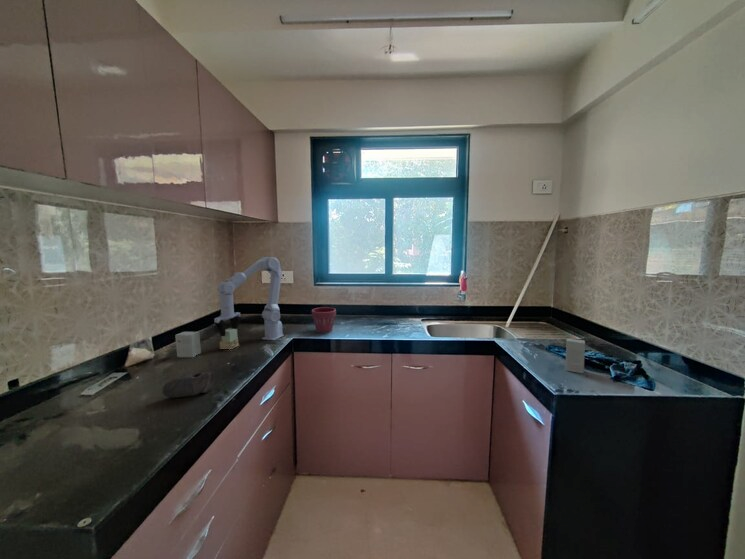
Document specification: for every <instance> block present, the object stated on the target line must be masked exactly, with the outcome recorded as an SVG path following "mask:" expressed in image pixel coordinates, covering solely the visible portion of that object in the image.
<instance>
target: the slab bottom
mask: <svg viewBox="0 0 745 559" xmlns="http://www.w3.org/2000/svg"><path fill="white" fill-rule="evenodd" d="M237 346H239V347H240V343H239V342H238V343H237V344H235V345H234V346H220V345H219V350H220V349H229V350H230V349H233V348H235V347H237ZM237 348H238V347H237ZM235 349H236V348H235ZM229 350H228V351H229ZM233 350H234V349H233ZM230 351H231V350H230Z"/></svg>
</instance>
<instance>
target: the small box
mask: <svg viewBox="0 0 745 559" xmlns="http://www.w3.org/2000/svg"><path fill="white" fill-rule="evenodd" d="M174 336H175V348H176V358H195V357H196V355H197V356H198V354H199V355H200V354H202V350H201V347H202V346H201V338H200V331H182V332H180V333H177V334H175V335H174Z"/></svg>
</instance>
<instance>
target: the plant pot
mask: <svg viewBox="0 0 745 559" xmlns="http://www.w3.org/2000/svg"><path fill="white" fill-rule="evenodd" d="M336 316H337V310H336V308H334V307H324V306H322V307H321V306H320V307H316V308H312V309H311V317H312V318H313V322H314V326H315V329H316V330H315V331H316V333H319V332H320V333H319V334H322V333H323V334H324V333H325V332H327V333H331V332H332V331H333V327H334V323H335V322H334V321H335V317H336ZM330 331H331V332H330Z"/></svg>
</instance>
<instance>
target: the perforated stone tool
mask: <svg viewBox="0 0 745 559" xmlns="http://www.w3.org/2000/svg"><path fill="white" fill-rule="evenodd" d="M214 383H215V373H214V372H213V371H205V372H198V373H197V372H196V373H191V374H187V375H183V376H180V377H177V378H175V379H171V380H170V381H169V382H167V383H165V384H164V385H163V387H162V390H161V392H162V394H163V396H165V397H167V398H172V399H173V398H175V399H176V398H181V397H185V398H186V397H193V396H197V395H199V394H201V393H202V394H205V393H208V391H210V390H211V389H212V387H213V386H214Z"/></svg>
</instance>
